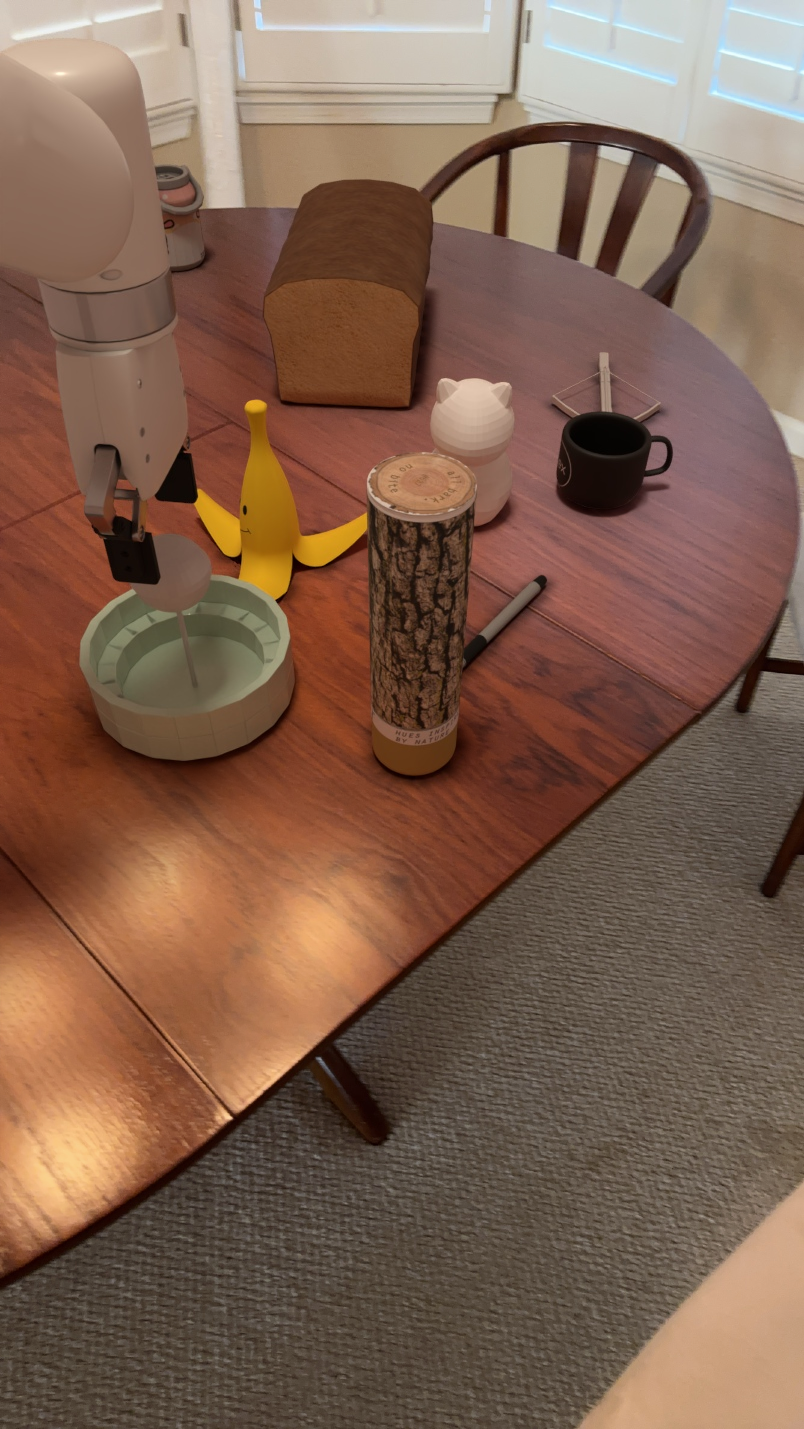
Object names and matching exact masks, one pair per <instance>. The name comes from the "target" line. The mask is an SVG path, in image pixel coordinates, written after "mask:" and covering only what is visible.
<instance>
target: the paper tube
mask: <svg viewBox="0 0 804 1429" xmlns="http://www.w3.org/2000/svg"><path fill="white" fill-rule="evenodd" d="M476 496H477V481H476V478H475V476H474V474H473V472H472V471H471V470H470V469H469V468H468V467H467V466H466V465H464V464H463V463H461V462H460V461H458V460H456V459H453V458H451V457H448V456H445V455H441V454H435V453H432V452H425V451H423V452H422V451H419V452H418V451H417V452H405V453H401V454H397V455H394V456H393V455H392V456H390V457H387V458H386V459H383V460H382V461H381V462H378V464H376V465H375V466H374V467H373V468H372V469H371V470H370V472H369V473H368V476H367V479H366V512H367V530H366V531H367V532H366V533H367V536H366V537H367V578H368V579H367V580H368V582H367V583H368V628H369V630H368V631H369V632H368V634H369V676H370V677H369V680H370V682H369V683H370V717H371V718H370V719H371V746H372V750H373V753H374V755H375V757H376V758H377V759H378V761H379V762H380V763H381V764H382V765H384V766H385V767H386V768H388V769H389V770H391V771H393V772H395V773H398V774H401V775H403V776H404V775H405V776H425V775H428V774H431V773H434V772H436V771H438V770H440V769H441V768H443V767H444V766H445V765H446V764H448V762H450V760H451V759H452V757H453V755H454V753H455V750H456V747H457V737H458V726H459V725H458V724H459V717H460V716H459V714H460V704H461V691H462V690H461V689H462V679H463V668H464V667H463V655H464V648H465V642H466V628H467V616H468V603H469V595H470V594H469V593H470V580H471V568H472V557H473V542H474V533H475V532H474V530H475V526H474V521H475V508H476ZM462 667H463V668H462Z"/></svg>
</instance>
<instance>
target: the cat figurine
mask: <svg viewBox="0 0 804 1429" xmlns="http://www.w3.org/2000/svg"><path fill="white" fill-rule="evenodd" d="M435 393H436V394H435V395H436V396H435V398H436V401H435V403H434V405H433V407H432V411H431V415H430V421H429V430H430V437H431V440H432V442H433V445H434V449H433V450H432V452H431V453H435V454H441V455H445V456H448V457H451V458H453V459H456V460H458V461H460V462H461V463H463V464H464V465H466V466H467V467H468V468H469V469H470V470H471V471H472V472H473V474H474V476H475V478H476V481H477V496H476V508H475V521H474V527H479V526H483V525H485V524H487V523H489V522H491V521H492V520H493V519H494V518H496V516H497V515H498V514H499V513H500V511H502V509H503V508H504V506H505V505H506V503H507V501H508V499H509V497H510V495H511V494H512V491H513V485H514V484H513V483H514V475H513V474H514V473H513V469H512V463H511V460H510V457H509V456H508V454H507V452H506V451H507V450H508V448H509V446H510V445H511V443H512V441H513V438H514V433H515V426H516V424H515V423H516V420H515V418H516V417H515V413H514V409H513V406H512V403H513V396H514V395H513V394H514V393H513V387H512V385H511V384H510V382H506V381H500V382H496V383H493V382H491V381H488V380H486V379H483V378H477V377H476V378H464V379H462V380H459V381H456V380H454V379H452V378H448V377H445V378H441V379H440V380H439V381H438V382H437V385H436V392H435Z"/></svg>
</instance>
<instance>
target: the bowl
mask: <svg viewBox="0 0 804 1429" xmlns="http://www.w3.org/2000/svg"><path fill="white" fill-rule="evenodd" d="M182 613H183V618H184V622H185V627H186V632H187V636H188V641H189V646H190V650H191V655H192V660H193V664H194V669H195V673H196V678H197V683H198V686H197V687H193V686H192V681H191V677H190V672H189V668H188V663H187V659H186V654H185V650H184V645H183V641H182V636H181V632H180V627H179V623H178V618H177V614H176V612H173V613H169V612H162V611H159V610H156V609H154V608H152V607H150V606H149V605H147V604H146V603H145V602H143V601H142V600H141V599H140V597H139V596H138V595H137V593H136V592H135V591H134V590H133V589H132V588H130V589H129V590H127V591H126V592H123V593H122V594H120V595H119V596H117V597H115V598H113V599H111V600H110V601H109V602H108V603H107V604H106V605H105V606H104V607H103V608H102V609H101V610H100V611H99V612H98V613H97V614H96V615H95V616H94V617H93V618H92V619H91V620H90V621H89V623H88V625H87V627H86V629H85V631H84V633H83V635H82V637H81V639H80V641H79V661H78V662H79V665H78V666H79V669H80V671H81V674H82V678H83V680H84V683H85V686H86V689H87V692H88V695H89V698H90V701H91V704H92V706H93V710H94V711H95V714H96V717H97V718H98V720H99V722H100V725H101V726H102V728H103V730H104V731H105V732H106V733H107V734H108V735H109V736H110V737H112V739H114V740H115V741H116V742H118V743H119V744H120V746H122V747H124V748H126V749H128V750H131V751H133V752H135V753H139V754H141V755H144V756H146V757H149V758H152V759H160V760H171V761H180V762H183V761H184V762H185V761H186V762H187V761H195V760H200V759H207V758H215V757H218V756H221V755H223V754H226V753H230V752H231V751H233V750H236V749H238V748H241V747H244V746H246V745H249V744H250V743H252V742H253V741H254V740H256V739H257V738H259V737H260V736H261V735H262V734H264V733H265V732H267V731H268V730H270V729H271V728H273V726H274V725H275V724H276V723H277V721H278V720H279V718H280V717H281V716H282V714H283V713H284V712H285V710H287V708H288V706H289V704H290V701H291V698H292V694H293V691H294V688H295V684H296V678H295V669H294V668H295V667H294V657H293V651H292V650H293V649H292V639H291V633H290V628H289V623H288V622H289V621H288V616H287V615H286V614H285V612H284V610H283V609H282V608H281V607H280V605H279V604H278V603H277V601H276V600H274V598H273V597H271V596H270V595H268V594H267V593H265V592H264V591H262V590H261V589H259V588H258V587H256V586H255V585H253V584H251V583H248V582H245V581H242V580H239V578H235V577H234V576H233V577H232V576H230V575H225V574H224V575H222V574H212V573H211V578H210V583H209V587H208V589H207V592H206V593H205V595H204V597H203V598H202V599H201V600H200V601H199V602H198V603H197V604H196V605H195V606H193V607H191V608H189V609H187V610H184V611H182Z"/></svg>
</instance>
